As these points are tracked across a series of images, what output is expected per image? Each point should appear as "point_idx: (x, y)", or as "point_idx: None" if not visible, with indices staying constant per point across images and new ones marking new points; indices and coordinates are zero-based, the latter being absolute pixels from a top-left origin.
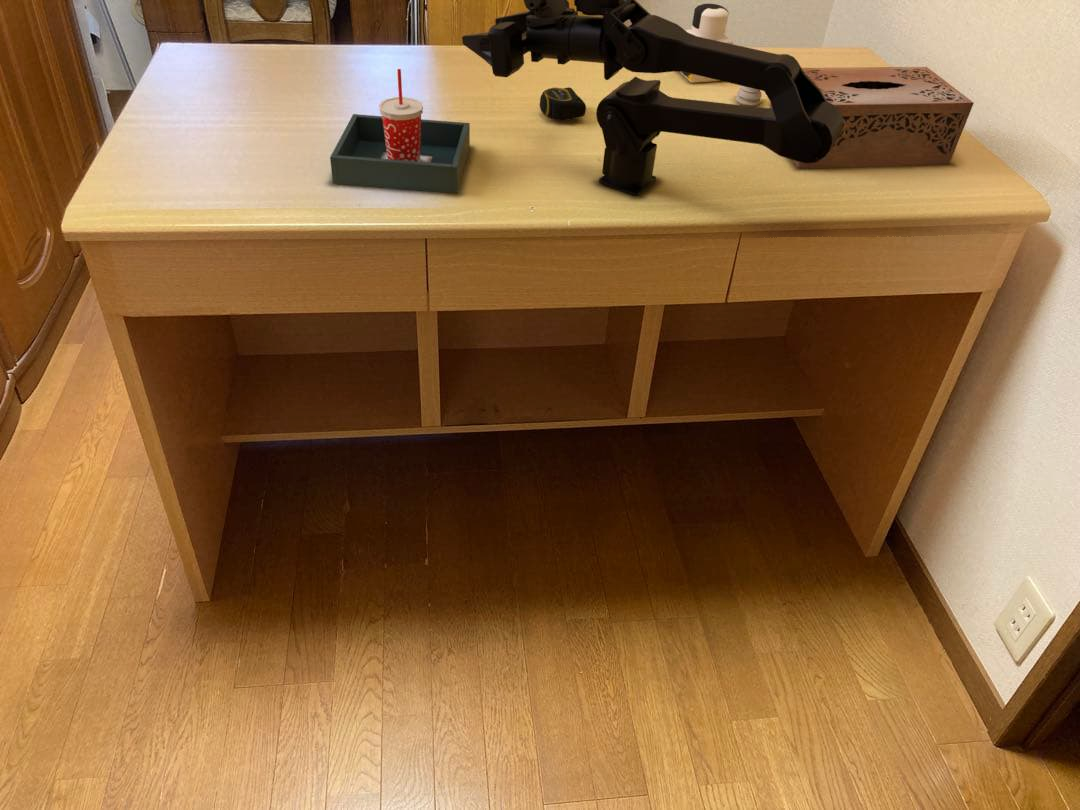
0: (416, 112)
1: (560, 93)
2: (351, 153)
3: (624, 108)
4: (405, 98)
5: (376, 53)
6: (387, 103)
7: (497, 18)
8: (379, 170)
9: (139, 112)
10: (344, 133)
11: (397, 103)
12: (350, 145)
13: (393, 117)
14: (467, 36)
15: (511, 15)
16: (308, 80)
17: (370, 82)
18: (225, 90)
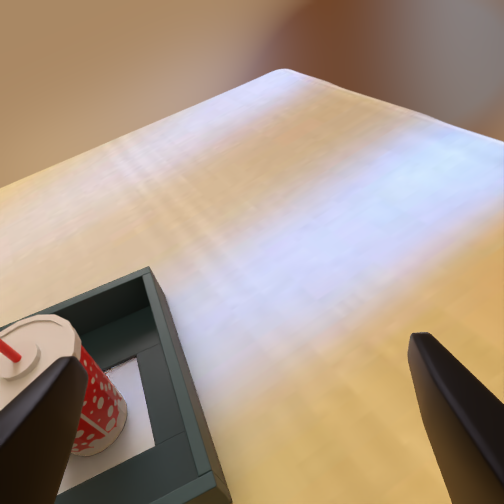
0: None
1: None
2: (97, 325)
3: None
4: (66, 343)
5: (451, 144)
6: (32, 329)
7: (416, 343)
8: None
9: (136, 133)
10: (68, 301)
11: (19, 350)
12: (88, 317)
13: None
14: (24, 390)
15: (483, 424)
16: (301, 155)
17: (359, 194)
18: (219, 135)
